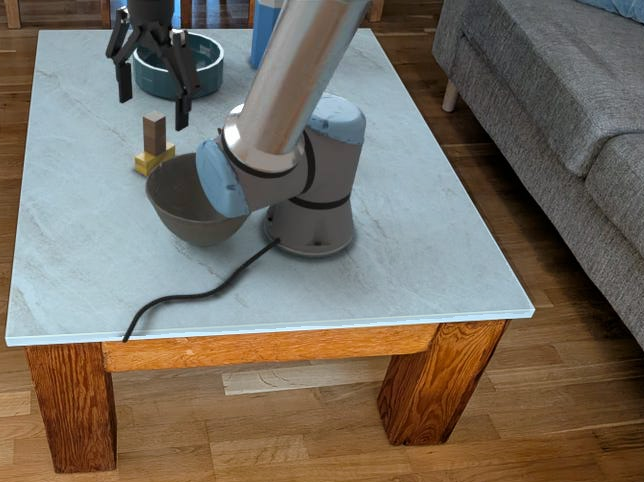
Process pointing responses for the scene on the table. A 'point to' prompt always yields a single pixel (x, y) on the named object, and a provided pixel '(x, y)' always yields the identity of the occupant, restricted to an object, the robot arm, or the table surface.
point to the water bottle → (263, 27)
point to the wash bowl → (157, 78)
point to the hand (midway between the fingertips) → (153, 114)
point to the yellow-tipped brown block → (153, 143)
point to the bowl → (187, 203)
